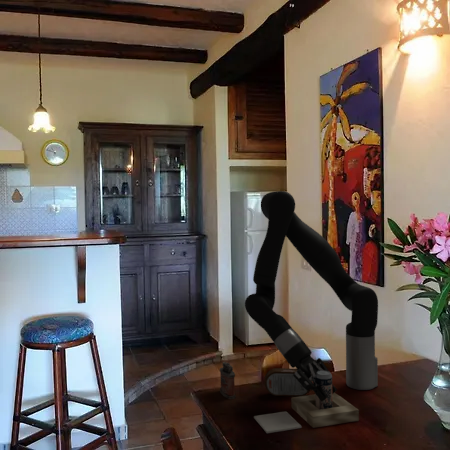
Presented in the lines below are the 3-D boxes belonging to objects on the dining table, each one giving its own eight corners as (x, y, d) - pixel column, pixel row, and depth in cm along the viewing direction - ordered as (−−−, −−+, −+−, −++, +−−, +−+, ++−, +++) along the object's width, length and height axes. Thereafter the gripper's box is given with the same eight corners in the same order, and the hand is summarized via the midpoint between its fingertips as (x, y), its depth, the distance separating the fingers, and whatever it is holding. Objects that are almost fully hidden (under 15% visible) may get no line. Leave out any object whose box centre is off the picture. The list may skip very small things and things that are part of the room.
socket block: (333, 401, 149) (333, 391, 149) (358, 420, 136) (358, 409, 136) (291, 407, 145) (291, 397, 145) (313, 427, 132) (313, 416, 132)
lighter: (217, 390, 159) (217, 360, 159) (227, 389, 161) (226, 359, 160) (227, 399, 152) (227, 368, 152) (237, 397, 153) (237, 366, 153)
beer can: (322, 418, 137) (322, 376, 137) (312, 412, 142) (311, 371, 141) (336, 415, 140) (335, 373, 139) (325, 409, 144) (325, 368, 143)
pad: (286, 413, 142) (286, 411, 142) (301, 427, 132) (301, 426, 132) (253, 417, 139) (253, 416, 139) (266, 433, 129) (266, 431, 129)
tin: (312, 394, 156) (311, 368, 155) (312, 398, 152) (312, 371, 152) (264, 393, 157) (264, 367, 157) (264, 396, 154) (264, 370, 154)
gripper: (288, 345, 139) (327, 396, 132) (311, 334, 150) (348, 381, 143) (272, 361, 142) (309, 411, 135) (296, 349, 153) (332, 395, 147)
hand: (329, 395), depth 139 cm, fingers open, 5 cm apart
